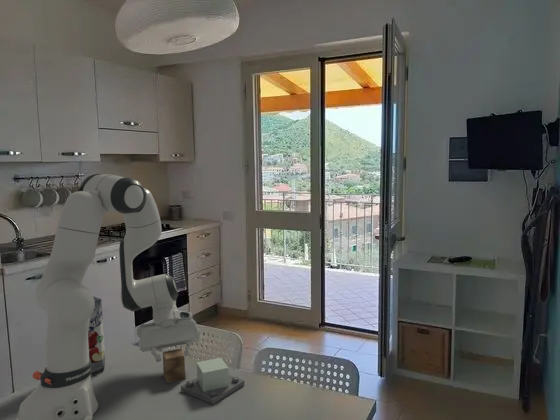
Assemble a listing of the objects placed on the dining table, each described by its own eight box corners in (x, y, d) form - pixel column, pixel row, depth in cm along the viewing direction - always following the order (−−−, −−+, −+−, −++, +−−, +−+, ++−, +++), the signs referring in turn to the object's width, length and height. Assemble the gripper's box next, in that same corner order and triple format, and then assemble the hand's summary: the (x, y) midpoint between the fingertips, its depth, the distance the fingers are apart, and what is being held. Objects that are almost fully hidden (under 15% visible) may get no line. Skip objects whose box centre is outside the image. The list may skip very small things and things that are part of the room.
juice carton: (66, 374, 149) (60, 297, 147) (95, 363, 157) (91, 289, 155) (78, 382, 144) (73, 302, 141) (108, 370, 152) (104, 294, 149)
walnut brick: (166, 382, 143) (165, 359, 142) (163, 374, 148) (162, 351, 147) (185, 378, 145) (184, 355, 144) (181, 371, 151) (180, 348, 150)
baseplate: (213, 404, 129) (212, 380, 128) (180, 390, 137) (180, 367, 137) (244, 384, 140) (243, 362, 140) (212, 373, 149) (212, 351, 148)
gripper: (136, 321, 149) (141, 360, 141) (196, 312, 157) (204, 348, 149) (135, 329, 153) (140, 368, 145) (193, 320, 161) (201, 356, 154)
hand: (173, 358), depth 147 cm, fingers open, 8 cm apart
